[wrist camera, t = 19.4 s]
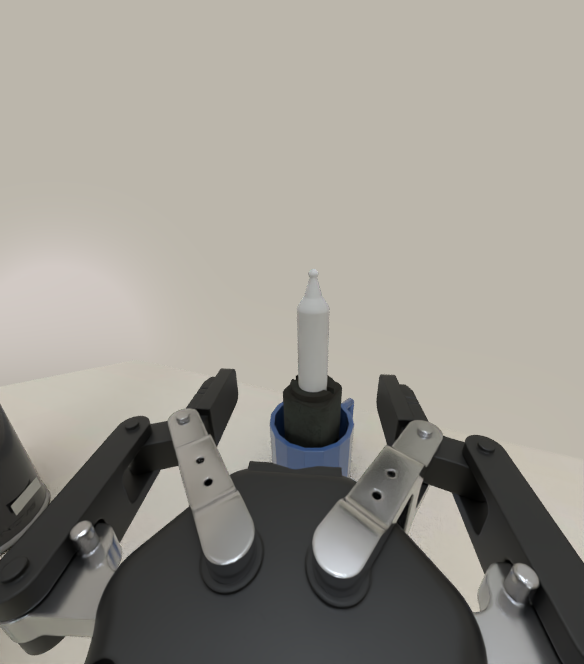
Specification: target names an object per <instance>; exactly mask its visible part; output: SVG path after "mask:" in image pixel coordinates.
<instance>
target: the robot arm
mask: <svg viewBox="0 0 584 664" xmlns="http://www.w3.org/2000/svg"><path fill="white" fill-rule="evenodd" d="M237 400H238V387H237V380H236V371H235V369H220V371H219V373H218V374H217V375H216V377H211V378H209V379H208V380H206V381H205V382H204V383H203V384H202V386H201V387H200V389H199V390H198V392H197V394H195V396H194V397H193V399H192V400H191V402H190V403H189V404H188V406H187V407H186V409H182V410H179V411H177V412H175V413H173V414H172V415H171V416H170V417H169V419H168V421H165V422H160V423H154V424H150V421H149V419H148V418H147V417H145V416H136V417H132V418H129V419H127V420H125V421H124V422H122V423H121V424H120V425H119V426H118V427H117V428H116V429H115V430H114V431H113V432H112V433H111V435H110V436H109V437H108V438H107V439H106V440H105V441H104V443H103V444H102V445H101V446H100V447H99V448H98V449H97V451H96V452H95V453H94V454H93V455H92V456H91V457H90V459H89V460H88V461H87V462H86V463H85V464H84V465H83V466H82V468H81V469H80V470H79V471H78V472H77V473H76V474H75V476H74V477H73V478H72V479H71V480H70V481H69V482H68V484H67V485H66V486H65V487H64V488H63V489H62V490H61V492H60V493H59V494H58V495H57V496H56V497H55V498H54V500H53V501H52V502H51V503H50V504H49V500H50V493H49V491H48V489H47V487H46V485H45V484H44V483H43V482H42V480H41V479H40V477H39V475H38V473H37V471H36V469H35V467H34V465H33V463H32V462H31V460H30V458H29V456H28V454H27V452H26V451H25V449H24V447H23V445H22V443H21V441H20V440H19V438H18V436H17V434H16V432H15V430H14V428H13V427H12V425H11V423H10V421H9V419H8V417H7V416H6V414H5V412H4V410H3V408H2V406H1V405H0V554H1V553H3V552H4V551H6V550H7V549H8V548H10V547H11V546H12V547H11V549H10V550H9V551H8V552H7V553H6V554H5V555H4V557H3V558H2V559H1V560H0V628H1V629H2V630H3V631H4V632H5V633H6V634H7V635H8V636H9V637H10V639H11V640H12V641H14V642H16V643H18V644H19V645H20V646H21V647H22V648H23V649H24V651H25V652H26V653H28V654H30V655H39V654H42V653H45V652H47V651H48V650H50V649H52V648H53V647H54V646H56V645H57V644H58V643H59V642H60V641H61V640H62V639H63V638H64V637H65V636H72V637H92V640H91V644H90V648H89V651H88V654H87V658H86V660H85V663H84V664H584V563H583V561H582V560H581V558H580V557H579V556H578V554H577V553H576V551H575V550H574V548H573V547H572V546H571V544H570V543H569V541H568V540H567V538H566V537H565V535H564V534H563V533H562V531H561V530H560V528H559V527H558V525H557V524H556V523H555V521H554V520H553V518H552V517H551V515H550V514H549V512H548V511H547V510H546V508H545V507H544V505H543V504H542V502H541V501H540V500H539V498H538V497H537V495H536V494H535V492H534V491H533V490H532V488H531V487H530V485H529V484H528V482H527V481H526V479H525V478H524V477H523V475H522V474H521V472H520V471H519V469H518V468H517V467H516V465H515V464H514V462H513V461H512V459H511V458H510V457H509V455H508V454H507V452H506V451H505V449H504V448H503V447H502V446H501V445H500V444H498V443H497V442H495V441H494V440H492V439H490V438H487V437H485V436H480V435H471V436H468V437H467V438H466V440H465V442H462V441H458V440H455V439H451V438H448V437H445V436H443V434H442V432H441V430H440V429H439V428H438V427H437V426H435V425H434V424H432V423H430V422H428V420H427V418H426V416H425V414H424V412H423V410H422V408H421V406H420V404H419V402H418V400H417V399H416V396H415V394H414V392H413V391H412V390H411V389H410V388H409V387H408V386H406V385H401V384H399V382H398V380H397V378H396V376H395V375H380V377H379V384H378V392H377V410H378V414H379V417H380V421H381V425H382V428H383V432H384V435H385V439H386V442H387V445H386V446H385V447H384V448H383V450H382V451H381V452H380V453H379V455H378V456H377V457H376V459H375V460H374V461H373V462H372V464H371V465H370V466H369V468H368V469H367V470H366V471H365V473H364V474H363V475H362V477H361V478H360V479H359V480H358V482H356V481H354V480H352V479H350V478H348V477H346V476H343V475H342V468H341V467H326V466H315V467H308V468H302V469H290V468H287V467H284V466H281V465H278V464H274V463H269V462H254V461H250V463H249V466H248V469H244V470H240V471H237V472H235V473H233V474H231V475H229V473H228V471H227V468H226V466H225V464H224V462H223V460H222V458H221V455H220V453H219V451H218V449H217V445H218V443H219V441H220V439H221V437H222V434H223V432H224V430H225V428H226V426H227V423H228V421H229V419H230V417H231V414H232V412H233V410H234V408H235V406H236V403H237ZM175 466H179V470H180V473H181V477H182V481H183V484H184V488H185V492H186V495H187V499H188V503H189V507H188V508H187V509H186V510H184V511H183V512H182V513H181V514H179V515H178V516H177V517H176V518H175V519H173V520H172V521H171V522H170V523H168V524H167V525H166V526H165V527H163V528H162V529H161V530H160V531H158V532H157V533H156V534H155V535H153V536H152V537H151V538H150V539H149V540H147V541H146V542H145V543H144V544H142V545H141V546H140V547H139V548H137V549H136V550H135V551H134V552H133V553H131V554H130V555H129V556H128V557H127V558H126V559H125V560H124V561H123V562H122V563H121V565H120V566H119V564H120V561H121V558H122V548H121V546H120V542H121V540H122V538H123V536H124V534H125V533H126V531H127V529H128V527H129V526H130V524H131V522H132V520H133V518H134V517H135V515H136V513H137V511H138V509H139V508H140V506H141V504H142V502H143V501H144V499H145V497H146V495H147V493H148V492H149V490H150V488H151V486H152V484H153V483H154V481H155V479H156V477H157V476H158V474H159V472H160V470H161V469H165V468H170V467H175ZM430 485H432V486H435V487H438V488H441V489H443V490H446V491H449V492H452V494H453V497H454V499H455V502H456V504H457V507H458V509H459V512H460V514H461V517H462V519H463V522H464V524H465V527H466V529H467V532H468V534H469V537H470V539H471V542H472V544H473V547H474V549H475V552H476V554H477V557H478V559H479V562H480V564H481V567H482V569H483V572H484V574H485V576H484V578H483V580H482V582H481V584H480V587H479V589H478V594H477V597H478V603H479V607H480V612H476V613H475V612H472V610H471V609H470V607H469V605H468V604H467V602H466V601H465V599H464V598H463V596H462V595H461V594H460V592H459V591H458V590H457V589H456V588H455V586H454V585H453V584H452V583H451V582H450V581H449V580H448V579H447V578H446V576H445V575H444V574H443V573H442V572H441V571H440V570H439V569H438V568H437V567H436V565H435V564H434V563H433V562H432V561H431V560H430V559H429V558H428V557H427V556H426V554H425V553H424V552H423V551H422V550H421V549H420V548H419V547H418V546H417V545H416V543H415V542H414V541H413V540H412V539H411V538H410V537H409V536H408V533H409V530H410V528H411V525H412V522H413V520H414V517H415V515H416V513H417V511H418V509H419V507H420V505H421V503H422V501H423V499H424V497H425V495H426V493H427V491H428V489H429V487H430ZM48 504H49V505H48ZM118 566H119V567H118Z"/></svg>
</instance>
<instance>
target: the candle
mask: <svg viewBox="0 0 584 664" xmlns="http://www.w3.org/2000/svg"><path fill="white" fill-rule="evenodd" d="M308 275H309V277H310V279H309V282H308V285H307V289H306V293H305V296H304V297H303V299H302V300H301V302H300V304H299V305H298V307H297V327H298V328H297V330H298V375H297V376H296V380H294V379H292V380H291V383H290V385H289V386H288V387H287V388H285V389H284V391H283V405H284V427H285V440H287V441H288V442H289V443H292V444H295V445H298V446H301V447H304V448H322V447H325V446H328V445H331V444H334V443H336V442H338V441H339V432H340V414H341V396H342V387H341V385H340V384H339V383H337V382H335V381H334V380H333V379H332V378H331V377H329V376H328V375H327V372H328V338H329V306H328V304H327V303H326V301H325V300H324V298H323V297H322V294H321V290H320V286H319V283H318V279H317V276H318V272H317V270H315V269H312V270H310V272H309V273H308Z"/></svg>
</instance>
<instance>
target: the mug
mask: <svg viewBox="0 0 584 664" xmlns="http://www.w3.org/2000/svg"><path fill="white" fill-rule="evenodd" d="M353 408H354V401H353V399H351V398H349V399H347V400H345V401H344V402H343V403H341V414H340V432H339V441H338V442H336V443H334V444H331V445H328V446H325V447H322V448H304V447H301V446H298V445H295V444H292V443H289V442H288V441H287V440H285V427H284V405H283V402H282V403H280V404H279V405H278V406H277V407H276V408H275V410H274V411H273V412H272V414H271V419H270V435H271V449H272V463H274V464H278V465H281V466H284V467H287V468H290V469H302V468H308V467H315V466H326V467H341V468H342V475H343V476H346V477H348V478H350V467H351V455H352V442H353V430H354V423H353Z"/></svg>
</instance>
